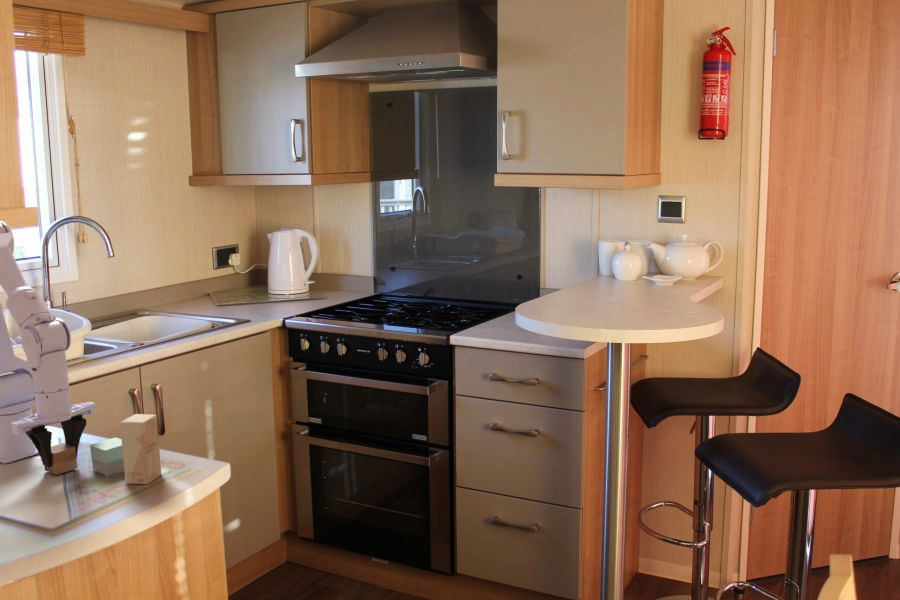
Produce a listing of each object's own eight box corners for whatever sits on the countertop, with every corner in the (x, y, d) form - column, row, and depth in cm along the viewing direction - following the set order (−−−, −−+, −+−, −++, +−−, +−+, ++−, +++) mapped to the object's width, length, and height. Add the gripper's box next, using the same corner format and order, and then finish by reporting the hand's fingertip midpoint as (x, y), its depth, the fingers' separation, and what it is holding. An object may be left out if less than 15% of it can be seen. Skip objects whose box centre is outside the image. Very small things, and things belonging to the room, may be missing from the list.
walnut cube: (44, 470, 161) (42, 449, 160) (65, 463, 164) (63, 442, 163) (56, 475, 158) (53, 453, 157) (77, 468, 161) (75, 447, 160)
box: (147, 485, 153) (141, 423, 151) (124, 483, 154) (118, 422, 152) (162, 473, 158) (157, 413, 156) (140, 472, 159) (134, 412, 157)
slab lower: (93, 471, 161) (91, 458, 160) (118, 463, 165) (117, 450, 164) (108, 477, 158) (106, 464, 157) (133, 469, 162) (132, 456, 161)
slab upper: (91, 458, 161) (90, 445, 160) (116, 450, 164) (115, 437, 164) (106, 464, 157) (105, 450, 157) (132, 455, 161) (130, 442, 161)
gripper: (22, 402, 150) (31, 479, 153) (101, 382, 161) (109, 454, 164) (2, 396, 154) (11, 470, 157) (81, 376, 166) (88, 446, 168)
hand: (60, 461), depth 161 cm, fingers closed on walnut cube, 4 cm apart
